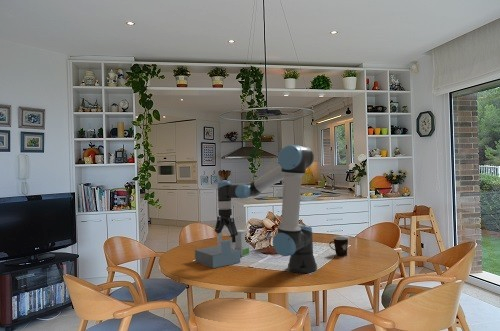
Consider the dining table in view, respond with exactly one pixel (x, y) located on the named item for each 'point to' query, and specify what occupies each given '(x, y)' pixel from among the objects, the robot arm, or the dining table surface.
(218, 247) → the slate blue box
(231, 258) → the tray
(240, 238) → the skincare box
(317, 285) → the dining table surface
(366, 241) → the dining table surface
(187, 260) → the dining table surface
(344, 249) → the coffee mug
